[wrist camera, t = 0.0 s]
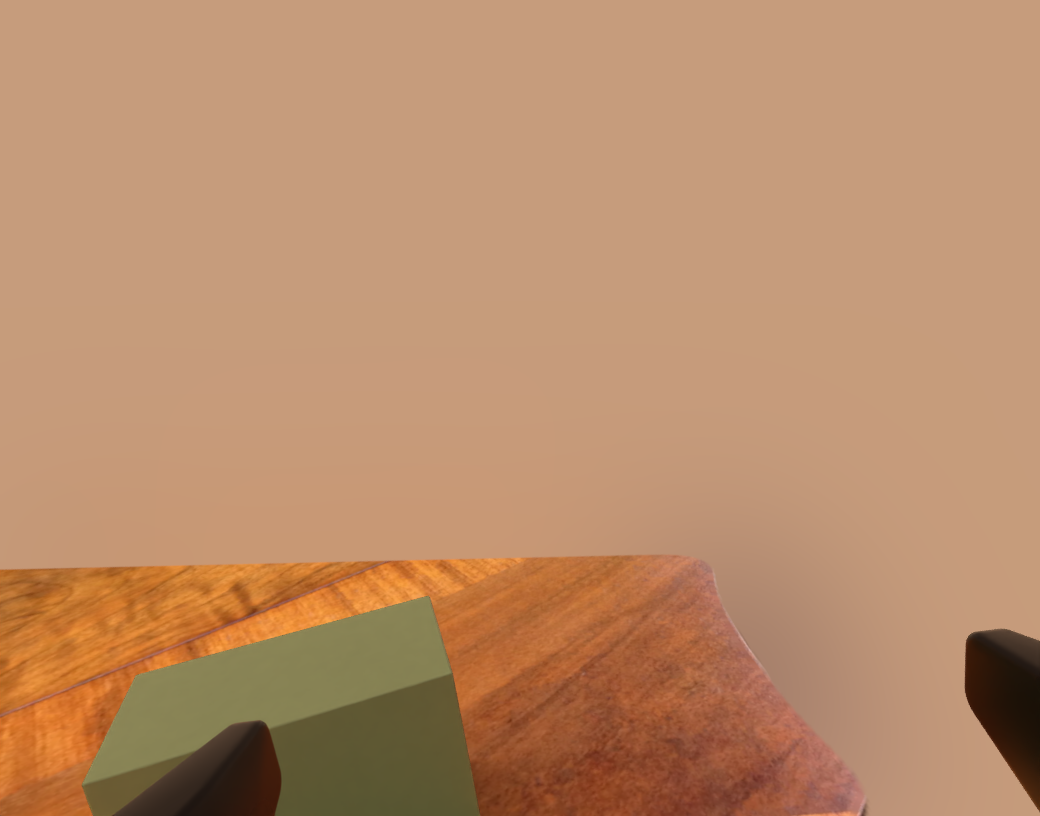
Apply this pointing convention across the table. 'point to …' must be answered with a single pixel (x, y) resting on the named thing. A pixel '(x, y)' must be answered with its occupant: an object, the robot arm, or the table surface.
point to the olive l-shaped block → (309, 719)
